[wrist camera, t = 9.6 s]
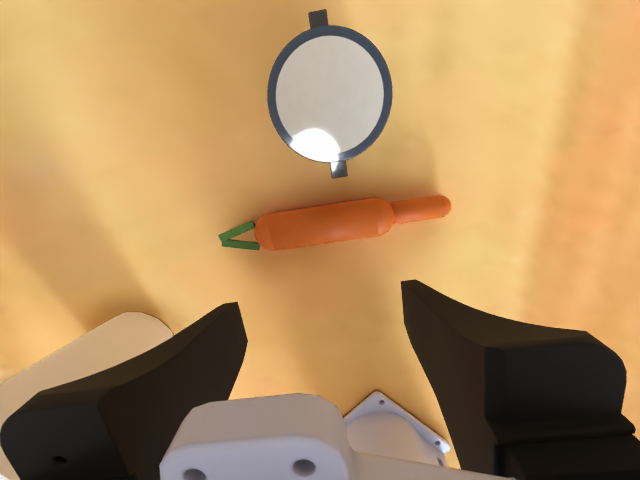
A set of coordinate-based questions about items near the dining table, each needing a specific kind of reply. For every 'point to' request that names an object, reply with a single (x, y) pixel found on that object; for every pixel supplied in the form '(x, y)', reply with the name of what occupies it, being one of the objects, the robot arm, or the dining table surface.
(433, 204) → the carrot
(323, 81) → the mug
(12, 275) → the dining table surface
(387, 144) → the dining table surface
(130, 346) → the foam cup
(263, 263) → the dining table surface
